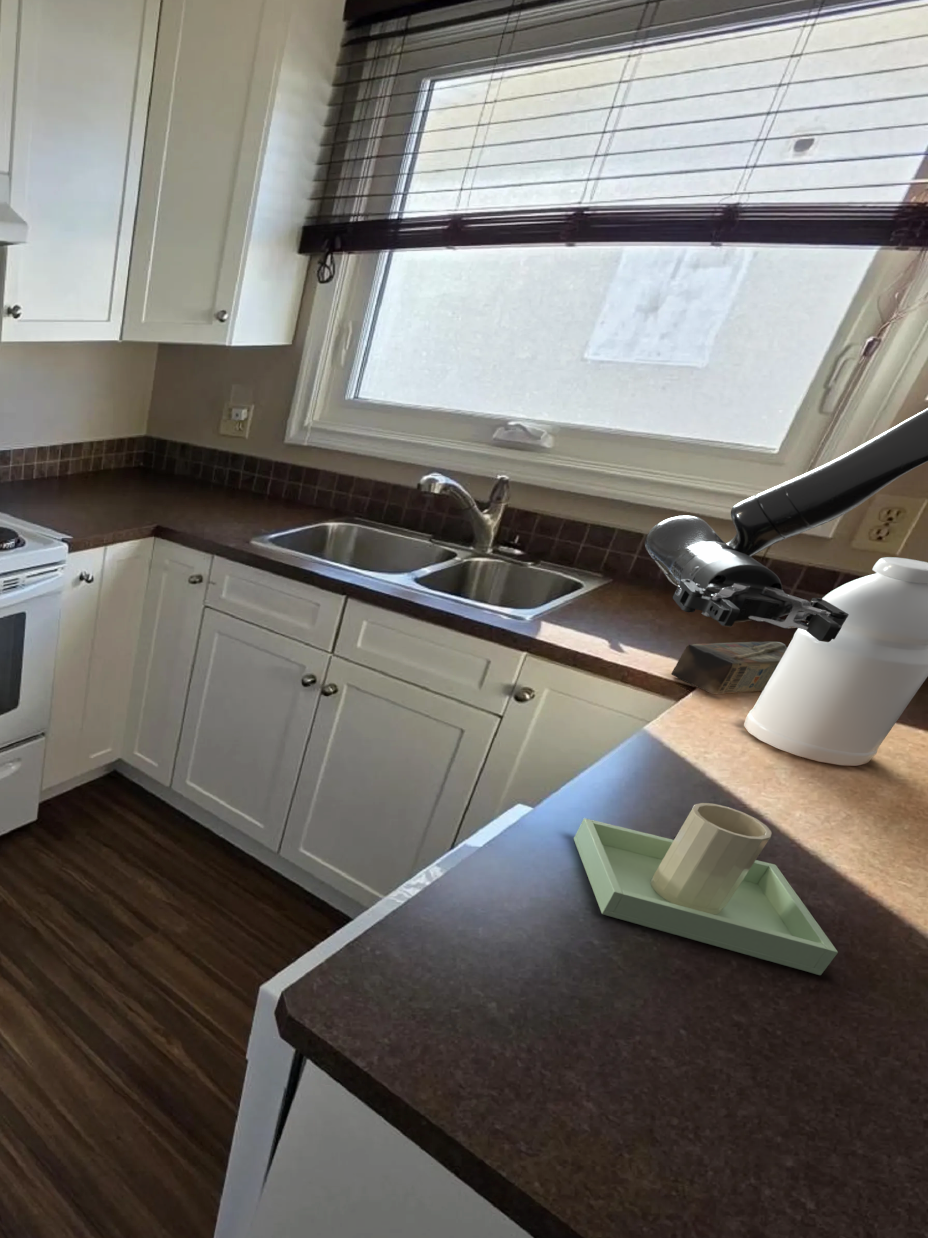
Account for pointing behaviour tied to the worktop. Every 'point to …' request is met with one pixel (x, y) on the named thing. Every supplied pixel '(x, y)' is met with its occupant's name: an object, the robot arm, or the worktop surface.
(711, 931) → the tray
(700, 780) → the worktop surface
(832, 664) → the bottle
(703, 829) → the cup
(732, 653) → the beverage carton
